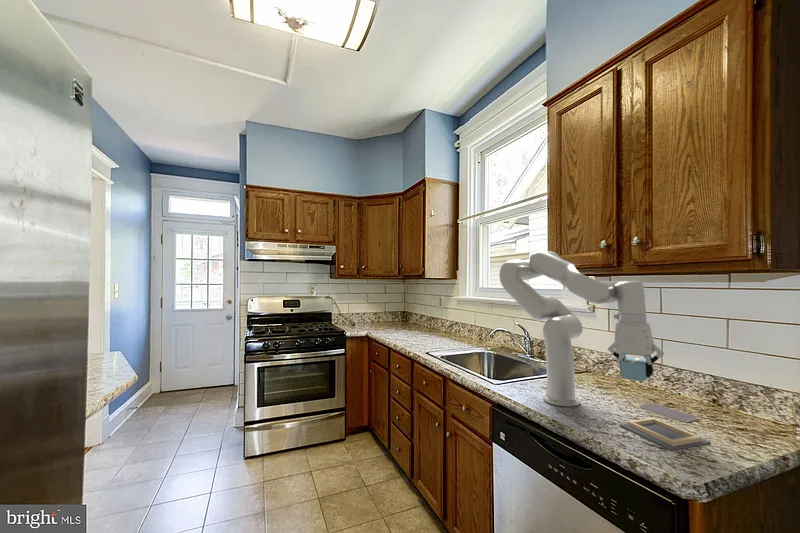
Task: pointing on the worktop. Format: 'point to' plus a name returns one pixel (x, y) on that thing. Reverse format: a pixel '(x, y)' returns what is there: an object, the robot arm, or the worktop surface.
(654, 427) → the mat
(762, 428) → the worktop surface
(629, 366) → the card box
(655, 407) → the smartphone
